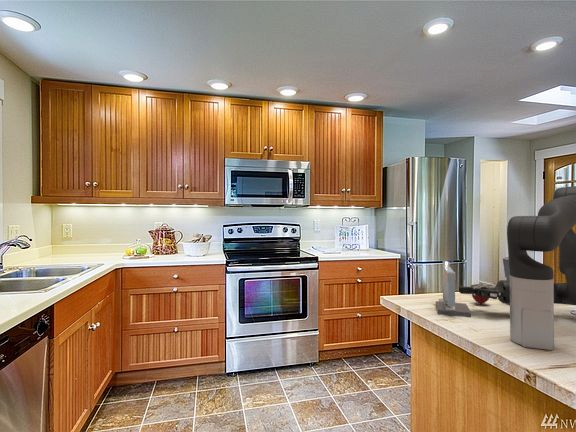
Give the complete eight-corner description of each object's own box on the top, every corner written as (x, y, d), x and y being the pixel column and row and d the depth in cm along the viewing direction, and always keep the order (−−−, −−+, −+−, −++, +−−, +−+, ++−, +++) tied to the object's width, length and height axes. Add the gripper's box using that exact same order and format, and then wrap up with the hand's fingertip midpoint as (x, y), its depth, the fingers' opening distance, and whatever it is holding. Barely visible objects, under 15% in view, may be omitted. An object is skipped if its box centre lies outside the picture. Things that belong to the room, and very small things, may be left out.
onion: (492, 306, 119) (492, 285, 119) (475, 306, 120) (475, 284, 120) (486, 302, 124) (486, 282, 124) (469, 302, 125) (469, 281, 126)
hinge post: (454, 305, 120) (454, 262, 120) (439, 304, 122) (439, 262, 122) (452, 302, 125) (452, 261, 125) (438, 301, 127) (438, 260, 127)
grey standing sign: (456, 306, 106) (455, 273, 106) (447, 306, 107) (447, 272, 107) (450, 295, 121) (450, 266, 121) (443, 295, 122) (442, 266, 122)
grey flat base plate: (471, 317, 106) (471, 310, 106) (438, 314, 110) (438, 307, 110) (465, 307, 118) (465, 301, 118) (435, 305, 121) (435, 299, 121)
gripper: (506, 277, 114) (453, 275, 117) (526, 284, 101) (466, 282, 104) (506, 298, 114) (453, 296, 117) (526, 308, 101) (466, 306, 104)
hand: (459, 290), depth 111 cm, fingers closed
